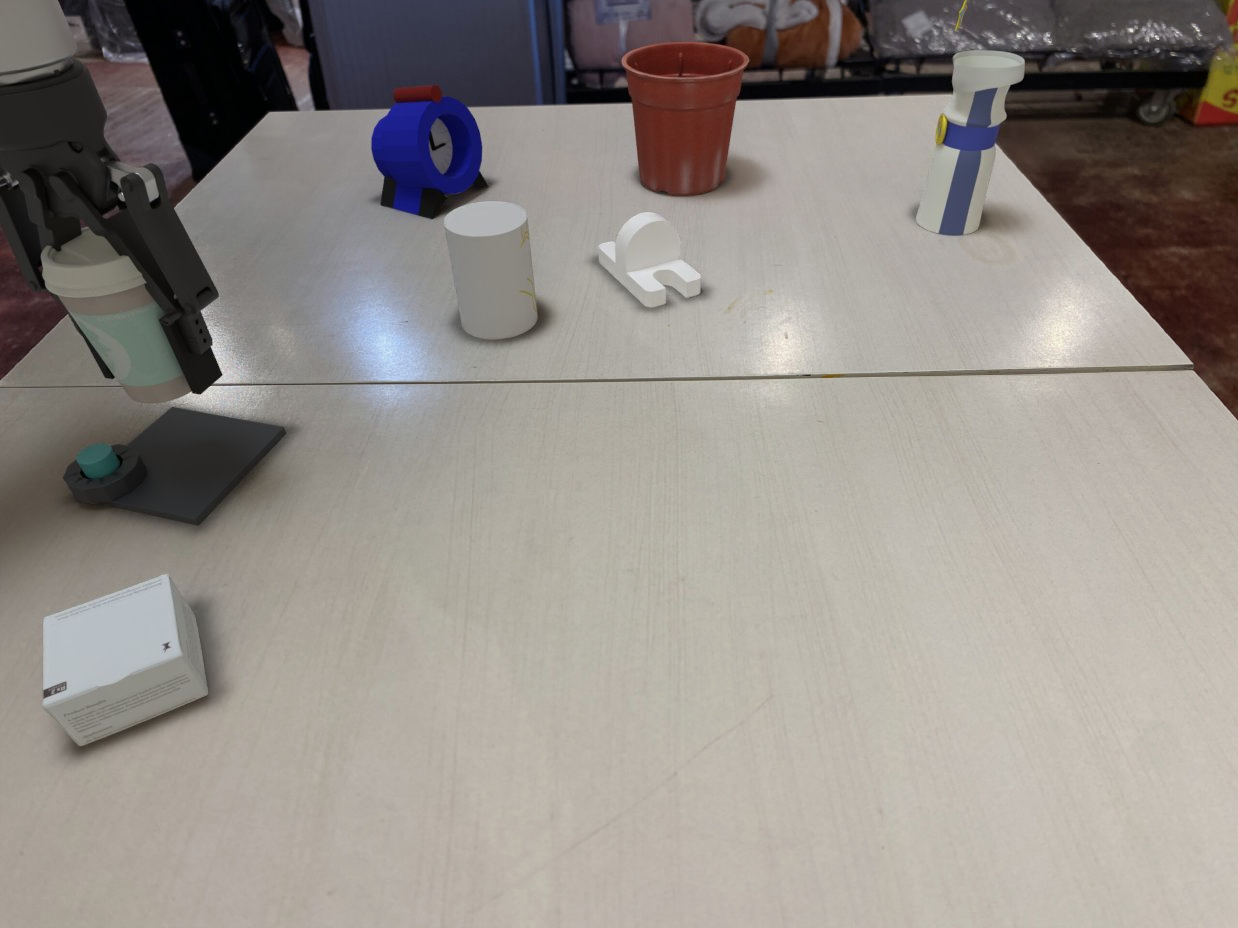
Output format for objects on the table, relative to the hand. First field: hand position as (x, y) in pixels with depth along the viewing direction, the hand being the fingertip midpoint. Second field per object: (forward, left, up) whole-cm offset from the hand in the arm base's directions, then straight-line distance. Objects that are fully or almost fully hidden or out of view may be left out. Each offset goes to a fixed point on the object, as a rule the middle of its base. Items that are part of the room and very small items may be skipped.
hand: (163, 376), depth 64 cm
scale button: (-5, -5, -7) cm, 10 cm away
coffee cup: (0, 0, -1) cm, 1 cm away
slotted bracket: (+29, +41, -10) cm, 51 cm away
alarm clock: (-7, +58, -10) cm, 59 cm away
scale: (-1, -1, -9) cm, 9 cm away
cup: (+16, +28, -10) cm, 34 cm away
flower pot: (+26, +71, -10) cm, 76 cm away
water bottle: (+62, +65, -10) cm, 90 cm away
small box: (+10, -20, -10) cm, 24 cm away
